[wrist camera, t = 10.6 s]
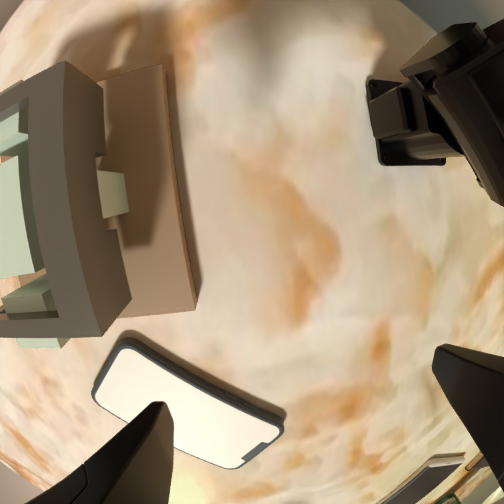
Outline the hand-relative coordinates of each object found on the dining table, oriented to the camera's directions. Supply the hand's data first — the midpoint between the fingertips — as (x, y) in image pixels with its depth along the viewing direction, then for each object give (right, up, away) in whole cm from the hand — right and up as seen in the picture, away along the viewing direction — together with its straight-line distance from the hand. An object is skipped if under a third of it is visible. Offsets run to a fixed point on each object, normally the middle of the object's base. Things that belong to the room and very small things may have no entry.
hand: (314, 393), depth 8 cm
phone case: (-8, -10, +15) cm, 19 cm away
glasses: (-14, +7, +6) cm, 16 cm away
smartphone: (+24, -41, +24) cm, 53 cm away
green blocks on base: (-14, +8, +10) cm, 18 cm away
